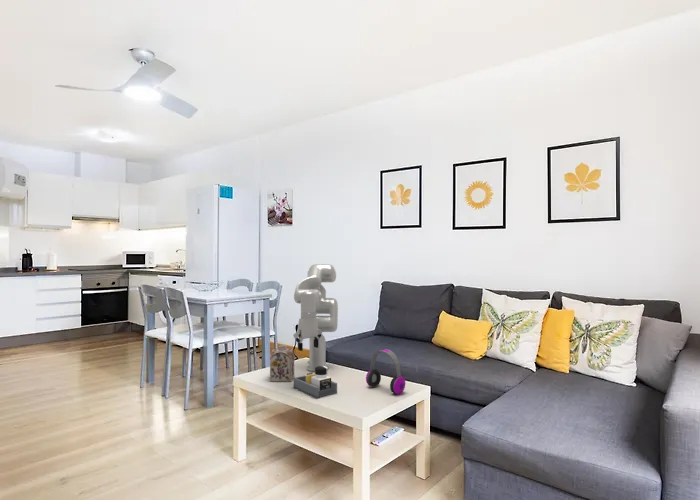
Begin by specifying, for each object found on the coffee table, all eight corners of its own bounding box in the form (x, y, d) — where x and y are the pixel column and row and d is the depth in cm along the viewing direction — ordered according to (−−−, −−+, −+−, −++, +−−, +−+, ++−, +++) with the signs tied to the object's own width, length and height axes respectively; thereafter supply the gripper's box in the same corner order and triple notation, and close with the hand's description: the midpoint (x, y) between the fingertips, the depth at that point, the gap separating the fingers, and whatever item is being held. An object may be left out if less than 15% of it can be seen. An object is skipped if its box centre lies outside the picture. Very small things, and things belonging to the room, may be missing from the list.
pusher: (301, 387, 214) (301, 373, 215) (316, 383, 220) (316, 370, 220) (307, 389, 210) (307, 375, 210) (322, 386, 216) (322, 372, 216)
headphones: (364, 387, 218) (364, 348, 219) (375, 383, 225) (375, 345, 225) (395, 397, 204) (395, 354, 204) (407, 392, 210) (407, 351, 210)
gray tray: (293, 387, 218) (293, 378, 218) (313, 383, 225) (313, 373, 225) (316, 398, 201) (316, 387, 201) (337, 393, 209) (337, 383, 209)
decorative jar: (291, 382, 228) (291, 348, 228) (269, 381, 228) (269, 348, 229) (294, 375, 240) (294, 343, 240) (274, 375, 240) (274, 343, 240)
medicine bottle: (319, 394, 204) (319, 369, 204) (311, 391, 209) (311, 366, 209) (331, 391, 208) (331, 366, 209) (322, 388, 214) (322, 364, 214)
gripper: (317, 312, 227) (317, 345, 227) (289, 316, 216) (289, 350, 216) (326, 314, 221) (326, 347, 221) (297, 318, 210) (298, 353, 210)
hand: (308, 348), depth 218 cm, fingers open, 9 cm apart
